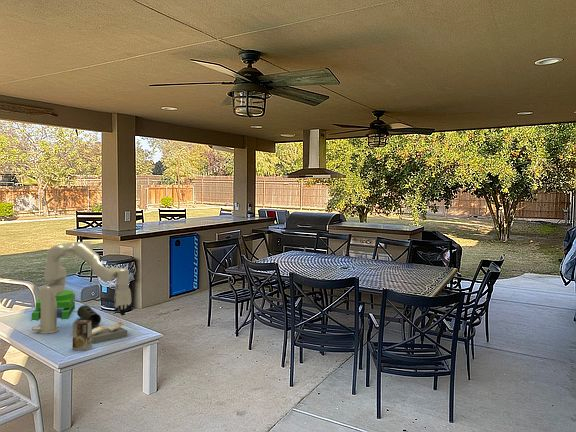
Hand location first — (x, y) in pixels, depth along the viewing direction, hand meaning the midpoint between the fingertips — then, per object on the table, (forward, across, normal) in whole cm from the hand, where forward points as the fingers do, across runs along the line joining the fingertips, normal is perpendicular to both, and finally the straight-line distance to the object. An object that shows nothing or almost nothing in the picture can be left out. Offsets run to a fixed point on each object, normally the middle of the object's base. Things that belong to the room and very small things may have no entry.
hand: (122, 314), depth 285 cm
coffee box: (+13, -30, -8) cm, 33 cm away
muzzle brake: (+13, -6, +40) cm, 42 cm away
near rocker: (+7, -16, 0) cm, 18 cm away
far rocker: (+7, -4, 0) cm, 8 cm away
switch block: (+13, -10, +1) cm, 17 cm away
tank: (+12, -17, +74) cm, 77 cm away
